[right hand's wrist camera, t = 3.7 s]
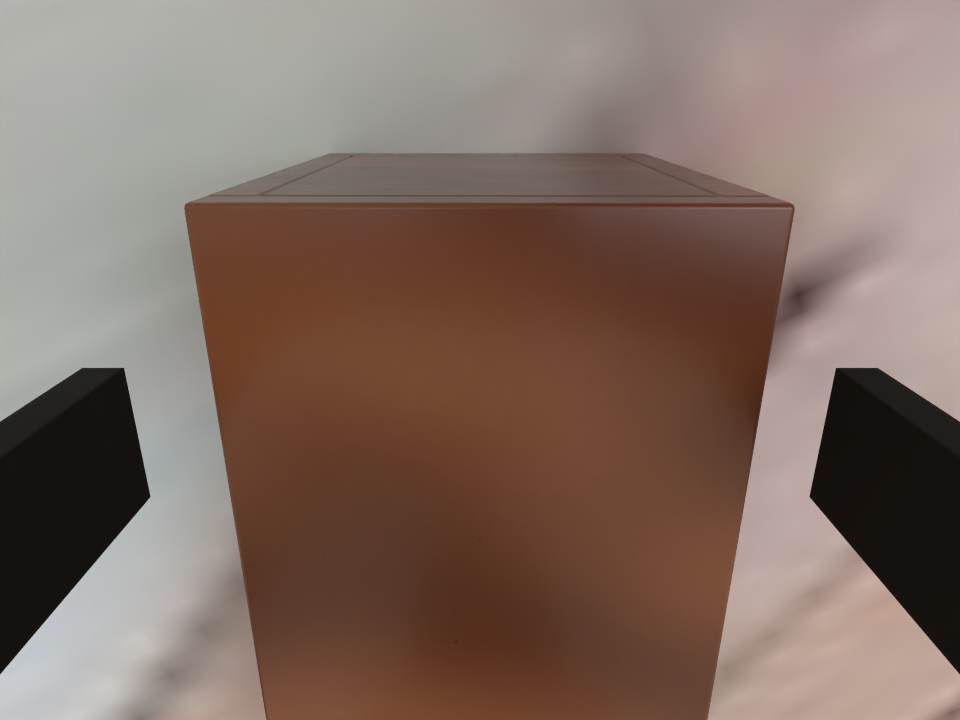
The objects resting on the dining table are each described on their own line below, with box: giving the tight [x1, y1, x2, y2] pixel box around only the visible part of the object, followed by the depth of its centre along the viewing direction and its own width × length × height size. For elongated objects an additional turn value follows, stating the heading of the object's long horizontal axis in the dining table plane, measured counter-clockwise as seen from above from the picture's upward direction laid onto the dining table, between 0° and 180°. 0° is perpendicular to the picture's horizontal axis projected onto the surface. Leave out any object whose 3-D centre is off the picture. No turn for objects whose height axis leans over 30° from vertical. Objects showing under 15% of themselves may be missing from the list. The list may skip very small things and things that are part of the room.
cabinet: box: [184, 154, 794, 720], centre depth 20 cm, size 20×11×12 cm, turn 0°
